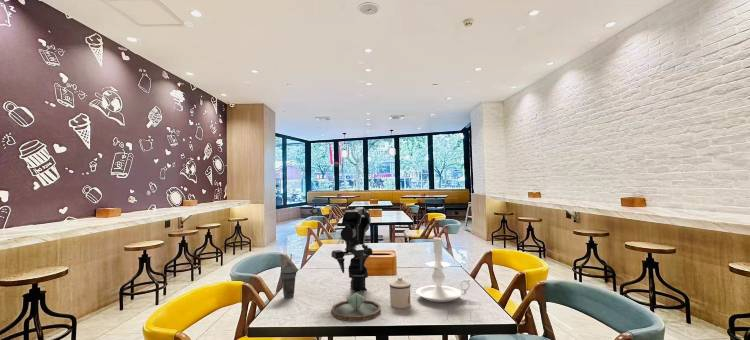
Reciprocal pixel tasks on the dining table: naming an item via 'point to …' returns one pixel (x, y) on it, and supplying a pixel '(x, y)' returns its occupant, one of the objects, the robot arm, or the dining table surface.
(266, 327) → the dining table surface
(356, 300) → the grey-green angular piece
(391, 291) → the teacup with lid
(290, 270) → the beverage cup
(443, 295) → the candlestick
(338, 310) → the round tray
